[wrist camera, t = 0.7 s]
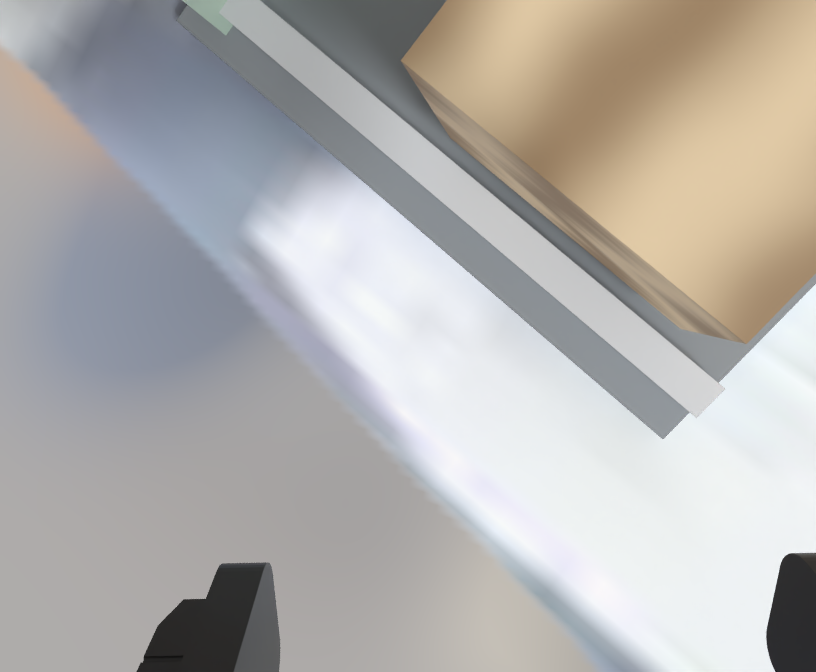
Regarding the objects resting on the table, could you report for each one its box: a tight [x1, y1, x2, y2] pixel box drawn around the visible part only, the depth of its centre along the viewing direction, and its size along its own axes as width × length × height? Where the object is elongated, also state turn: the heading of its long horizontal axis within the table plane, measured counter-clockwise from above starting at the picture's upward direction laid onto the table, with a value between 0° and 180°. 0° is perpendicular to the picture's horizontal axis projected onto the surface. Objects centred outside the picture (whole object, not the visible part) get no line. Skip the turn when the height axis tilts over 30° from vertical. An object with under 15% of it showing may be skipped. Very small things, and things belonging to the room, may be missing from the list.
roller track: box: [176, 0, 816, 439], centre depth 26 cm, size 30×18×8 cm, turn 50°
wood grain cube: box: [401, 0, 816, 344], centre depth 22 cm, size 12×10×11 cm
